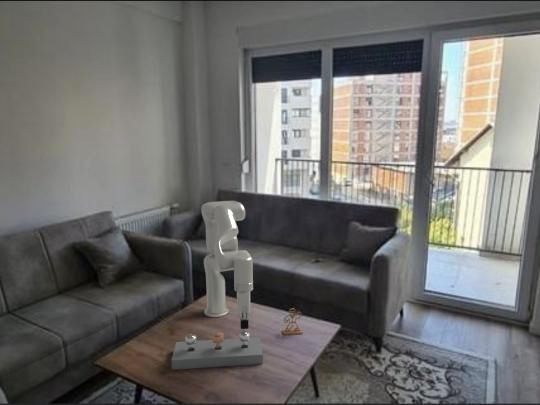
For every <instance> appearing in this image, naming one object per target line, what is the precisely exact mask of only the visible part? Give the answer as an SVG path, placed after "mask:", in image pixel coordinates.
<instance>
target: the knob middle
mask: <svg viewBox="0 0 540 405" xmlns="http://www.w3.org/2000/svg"><path fill="white" fill-rule="evenodd" d="M211 339H212V340H213V342H214V343H216V348H217V349H219V348H220V343H221V342H223V339H224V333H223V332H219V331H218V332H215V333H213V334H212V337H211Z"/></svg>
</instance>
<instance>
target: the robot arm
mask: <svg viewBox="0 0 540 405" xmlns="http://www.w3.org/2000/svg"><path fill="white" fill-rule="evenodd" d="M201 215H202V219H203V221H204V225H205V243H206V249H207V251H209V252H214V253H211V254H207V255H206V256H205V257H204V258H203V265H204V266H203V267H204V272H205V280H206V281H205V283H206V307H205V309H204V312H203V313H204V315H205V316H207V317H210V318H220V317H224V316H226V315H228V314H229V312H230V311H229V308H228V307H227V305H226V281H225V279H226V278H224V276H223V274H222V273H221V272H227V271H233V273H234V274H233V278H234V279H233V285H234V291H235V292H236V307H237V308H236V310H237V316H238V317H239V316H240V321H239V322H240V330H249V326H250V325H249V318H248V317H249V316H250V313H251V292H252V291H253V290H254V280H253V278H254V276H253V275H254V274H253V273H254V272H253V271H254V269H253V267H254V266H253V258H252V257H251V254H250V253H249V252H248V250H245V249H244V250H243V249H242V250H239V247H238V246H239V242H238V237H237V236H238V235H239V228H238V225H237V222H239V221H243V220H244V219H245V218H246V209H245V206H244V205H243V203H242V202H239V201H236V200H223V201H209V202H206V203H204V204H202V205H201ZM225 251H226V252H225Z"/></svg>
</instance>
